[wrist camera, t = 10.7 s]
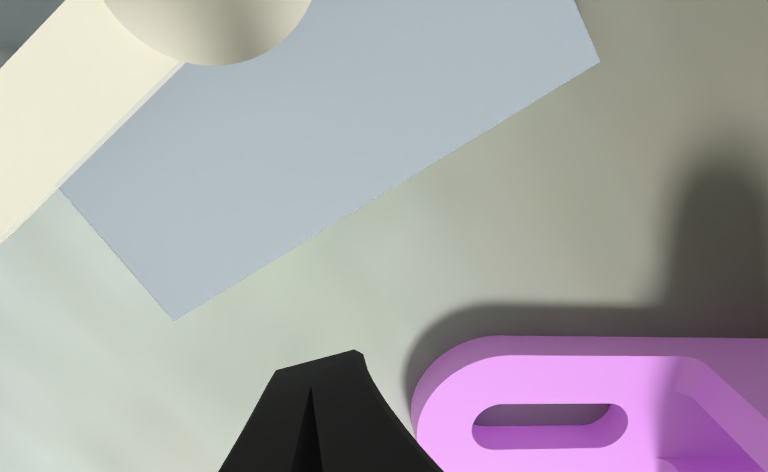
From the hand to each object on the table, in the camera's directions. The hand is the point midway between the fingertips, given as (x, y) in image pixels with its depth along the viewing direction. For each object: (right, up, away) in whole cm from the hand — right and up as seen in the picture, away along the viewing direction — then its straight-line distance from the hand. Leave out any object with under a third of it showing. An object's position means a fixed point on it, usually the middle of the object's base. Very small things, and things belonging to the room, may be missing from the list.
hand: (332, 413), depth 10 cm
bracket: (+8, -3, +13) cm, 16 cm away
